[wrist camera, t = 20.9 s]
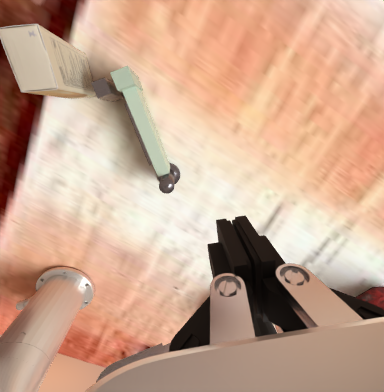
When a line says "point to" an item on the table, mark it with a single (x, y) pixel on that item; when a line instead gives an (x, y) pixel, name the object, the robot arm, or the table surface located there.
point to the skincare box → (46, 62)
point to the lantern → (374, 296)
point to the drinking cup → (262, 326)
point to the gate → (141, 117)
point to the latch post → (110, 93)
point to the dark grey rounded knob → (169, 179)
